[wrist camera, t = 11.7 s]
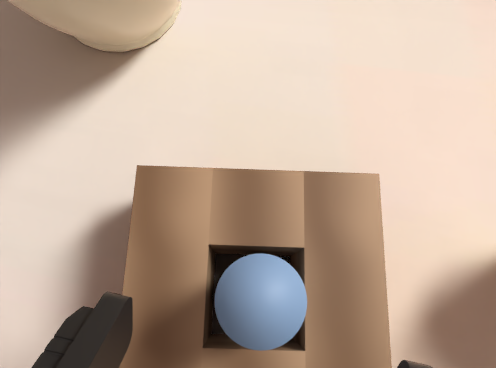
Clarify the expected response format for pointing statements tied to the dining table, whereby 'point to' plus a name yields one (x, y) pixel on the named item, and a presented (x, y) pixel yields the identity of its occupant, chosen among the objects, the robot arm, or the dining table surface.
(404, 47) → the dining table surface
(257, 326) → the peg
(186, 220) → the hole block
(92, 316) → the robot arm
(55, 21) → the lamp
